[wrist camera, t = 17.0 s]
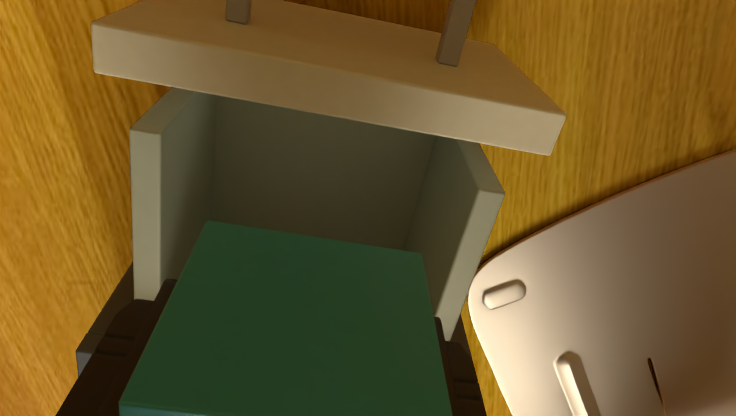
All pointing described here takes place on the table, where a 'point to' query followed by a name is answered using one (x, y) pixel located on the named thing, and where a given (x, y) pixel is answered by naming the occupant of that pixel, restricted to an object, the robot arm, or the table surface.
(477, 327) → the laptop stand
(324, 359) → the block
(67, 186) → the table surface
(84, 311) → the table surface
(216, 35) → the drawer with bar handle
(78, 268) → the table surface
